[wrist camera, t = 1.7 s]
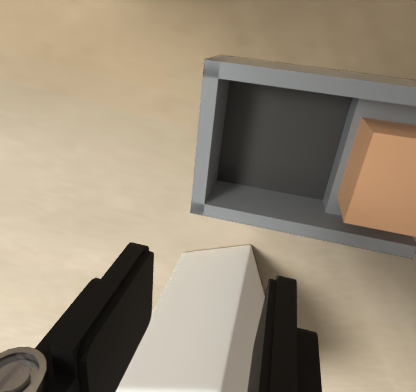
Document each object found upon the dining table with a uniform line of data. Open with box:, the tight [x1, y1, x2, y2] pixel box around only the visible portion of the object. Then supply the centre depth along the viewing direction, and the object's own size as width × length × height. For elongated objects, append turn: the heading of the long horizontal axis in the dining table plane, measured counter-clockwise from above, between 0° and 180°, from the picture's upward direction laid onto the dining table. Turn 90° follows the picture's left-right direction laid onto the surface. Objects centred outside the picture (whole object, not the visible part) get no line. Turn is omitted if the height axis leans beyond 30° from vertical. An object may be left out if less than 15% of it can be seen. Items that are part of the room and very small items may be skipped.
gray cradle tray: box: [190, 55, 416, 259], centre depth 24 cm, size 11×27×5 cm, turn 84°
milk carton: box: [116, 245, 265, 392], centre depth 26 cm, size 7×7×19 cm
